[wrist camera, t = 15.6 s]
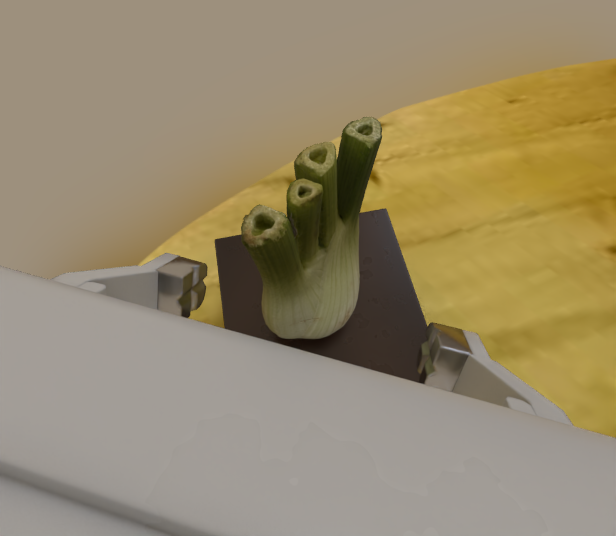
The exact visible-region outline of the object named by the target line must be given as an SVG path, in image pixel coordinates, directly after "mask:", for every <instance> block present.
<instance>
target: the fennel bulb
mask: <svg viewBox="0 0 616 536" xmlns="http://www.w3.org/2000/svg"><path fill="white" fill-rule="evenodd" d="M381 133H382V127H381V124H380V122H379V121H378V120H377V119H375V118H373V117H363V118H362V119H360V120H356V121H352V122H351V123H349V124H348V125H347V126H346V127H345V128H344V129H343V133H342V136H341V137H342V139H341V143H340V147H339V154H338V158H337V159H336V149H335V146H334V144H333V143H331V142H323V143H320V144H315V145H312V146H310V147H307V148H306V149H305V150H303V151H302V152H301V153H300V154H299V155H298V157H297V158H296V160H295V162H294V169H295V176H296V180H295V181H294V182H291V184H290V186H289V188H288V190H287V217H286V215H285V214H284V213H282V212H279V211H276V210H274V209H272V208H270V207H267V206H263V205H257V206H256V207H254V208H253V209H252V211H251V212H250V214H249V215H246V216H245V217H244V221H243V223H242V226H241V231H242V236H241V240H242V243H243V245H244V246H245V248H246V249H247V251H248V252H249V254H250V256H251V257H252V259H253V261H254V262H255V264H256V266H257V269H258V270H259V272H260V275H261V278H262V281H263V293H262V303H261V304H262V314H263V317H264V320H265V323H266V325H267V326H268V327H269V329H270V330H271V331H272V332H273V333H275V334H277V335H278V336H279V337H281V338H285V339H297V338H305V339H319V338H323V337H326V336H329V335H331V334H332V333H334V332H336V331H337V330H339V329H340V328H342V327H343V326H344V325H345V324H346V322H347V321H348V319H349V318H350V316H351V315H352V313H353V311H354V309H355V307H356V303H357V299H358V293H359V284H360V280H359V278H360V274H359V212H360V209H361V205H362V201H363V198H364V194H365V190H366V187H367V184H368V180H369V177H370V174H371V171H372V168H373V164H374V161H375V158H376V155H377V152H378V149H379V145H380V143H381V139H382V135H381Z"/></svg>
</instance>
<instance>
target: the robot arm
mask: <svg viewBox="0 0 616 536" xmlns="http://www.w3.org/2000/svg"><path fill="white" fill-rule="evenodd" d="M206 276H207V265H206V264H205V263H202V262H198V261H195V260H191V259H187V258H184V257H180V256H178V255H173V254H169V253H165V254H163V255H161V256H159V257H157V258H155V259H154V260H152V261H150V262H148V263H146V264H144V265H142V266H137V265H136V266H127V267H117V268H109V269H99V270H90V271H80V272H70V273H64V274H61V275H59V276H57V277H55V278H52V279H50V280H49V279H45V278H42V277H38V276H35V275H31V274H27V273H24V272H20V271H17V270H13V269H10V268H6V267H2V266H0V536H616V438H614V437H611V436H607V435H603V434H600V433H596V432H593V431H589V430H585V429H582V428H578V427H575V426H573V424H572V423H571V421H570V420H569V418H568V417H567V415H566V414H565V412H564V411H563V410H562V409H560V408H559V407H557V406H556V405H555V404H553V403H552V402H551V401H549V400H548V399H547V398H545V397H544V396H542V395H541V394H540V393H538V392H537V391H536V390H534V389H533V388H532V387H530V386H529V385H528V384H526V383H525V382H523V381H522V380H521V379H519V378H518V377H517V376H515V375H514V374H513V373H511V372H510V371H508V370H507V369H506V368H504V367H503V366H502V365H500V364H499V363H498V362H496V361H493V360H491V359H490V357H489V355H488V353H487V351H486V349H485V347H484V345H483V343H482V341H481V339H480V337H479V336H478V334H477V333H474V332H470V331H465V330H462V329H458V328H454V327H450V326H446V325H441V324H437V323H430V324H429V326H428V328H427V330H426V333H425V334H426V339H427V341H425V342H424V343H422V344H421V346H420V349H419V352H418V356H417V371H418V372H419V373H420V374H421V375H420V377H419V383H417V382H414V381H410V380H407V379H403V378H399V377H396V376H392V375H389V374H385V373H382V372H378V371H374V370H371V369H367V368H364V367H360V366H356V365H353V364H349V363H346V362H342V361H339V360H335V359H331V358H328V357H324V356H321V355H317V354H314V353H310V352H306V351H303V350H299V349H296V348H292V347H289V346H285V345H281V344H278V343H274V342H271V341H267V340H264V339H260V338H256V337H253V336H249V335H246V334H242V333H239V332H235V331H231V330H228V329H224V328H221V327H217V326H214V325H210V324H206V323H203V322H199V321H196V320H192V319H189V318H188V317H189V316H190V311H193V310H197V309H198V308H199V307H200V305H201V304H202V302H203V300H204V296H205V292H206V286H205V284H204V282H203V279H204V278H205V277H206Z"/></svg>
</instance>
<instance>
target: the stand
mask: <svg viewBox="0 0 616 536" xmlns="http://www.w3.org/2000/svg"><path fill="white" fill-rule="evenodd" d="M241 236H242V235H236V236H231V237H225V238H220V239H215V248H216V257H217V266H218V274H219V283H220V292H221V300H222V309H223V318H224V326H225V329H228V330H231V331H235V332H239V333H242V334H246V335H249V336H253V337H256V338H260V339H264V340H267V341H271V342H274V343H278V344H281V345H285V346H289V347H292V348H296V349H299V350H303V351H306V352H310V353H314V354H317V355H321V356H324V357H328V358H331V359H335V360H339V361H342V362H346V363H349V364H353V365H356V366H360V367H364V368H367V369H371V370H374V371H378V372H382V373H385V374H389V375H392V376H396V377H399V378H403V379H407V380H410V381H414V382H417V383H419V377H420V375H421V374H420V373H419V372H418V371H417V356H418V352H419V349H420V346H421V344H422V343H424V342H425V341H427V339H426V334H425V333H426V330H427V328H428V327H427V324H426V321H425V318H424V316H423V313H422V310H421V307H420V304H419V301H418V298H417V295H416V293H415V290H414V287H413V284H412V281H411V278H410V275H409V273H408V270H407V267H406V264H405V261H404V258H403V255H402V253H401V250H400V247H399V244H398V241H397V238H396V235H395V232H394V230H393V227H392V224H391V221H390V218H389V215H388V212H387V210H386V209H380V210H374V211H369V212H363V213H359V274H360V278H359V280H360V284H359V293H358V299H357V303H356V307H355V309H354V311H353V313H352V315H351V316H350V318H349V319H348V321H347V322H346V324H345V325H344V326H343V327H342V328H340V329H339V330H337V331H336V332H334V333H332V334H331V335H329V336H326V337H323V338H319V339H305V338H297V339H285V338H281V337H279V336H278V335H277V334H275V333H273V332H272V331H271V330H270V329H269V327H268V326H267V325H266V323H265V320H264V317H263V314H262V304H261V303H262V293H263V281H262V278H261V275H260V272H259V270H258V269H257V266H256V264H255V262H254V261H253V259H252V257H251V256H250V254H249V252H248V251H247V249H246V248H245V246H244V245H243V243H242V240H241Z"/></svg>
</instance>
